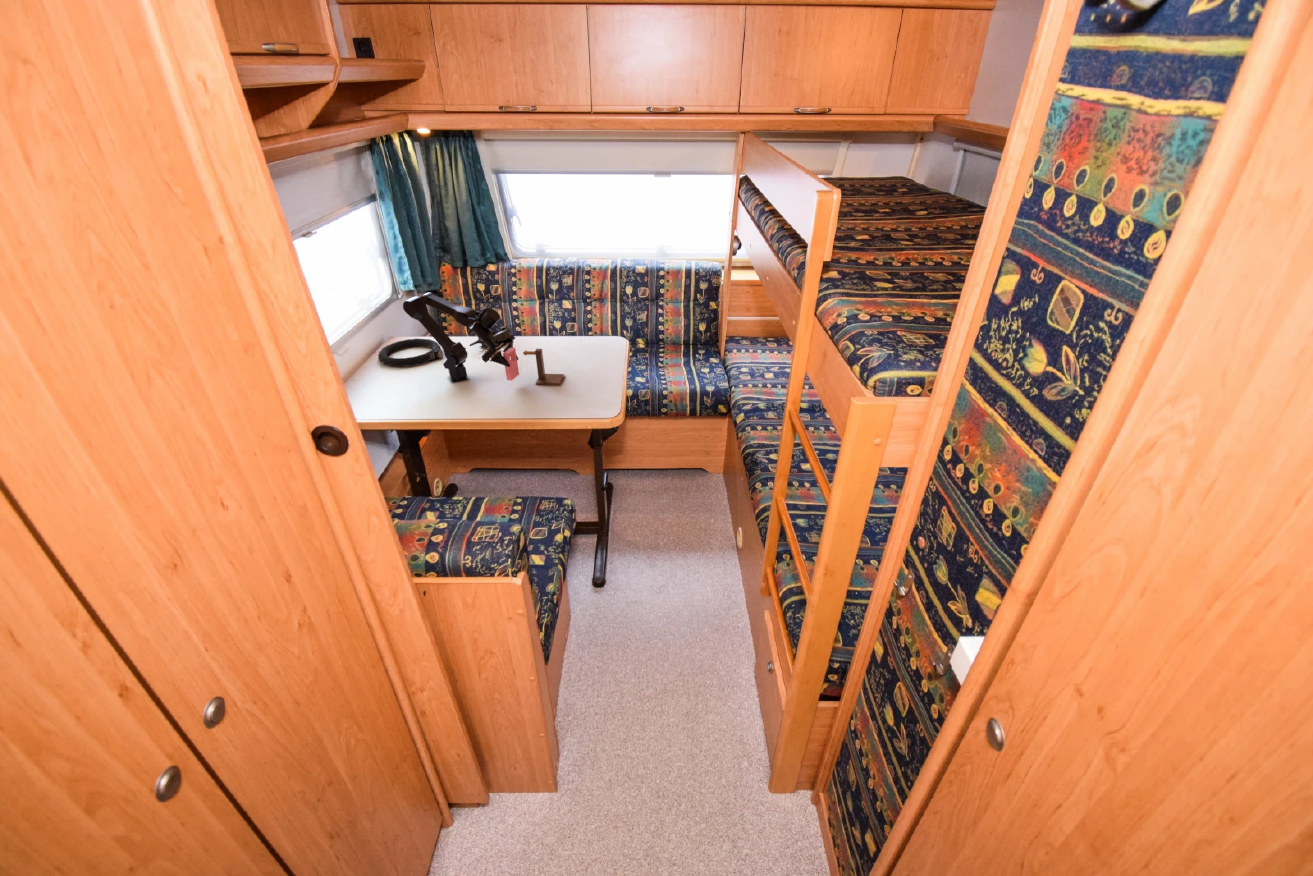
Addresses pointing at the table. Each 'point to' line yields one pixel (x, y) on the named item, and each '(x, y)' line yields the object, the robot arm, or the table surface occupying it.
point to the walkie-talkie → (478, 342)
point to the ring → (411, 360)
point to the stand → (542, 377)
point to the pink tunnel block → (513, 369)
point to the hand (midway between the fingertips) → (513, 363)
